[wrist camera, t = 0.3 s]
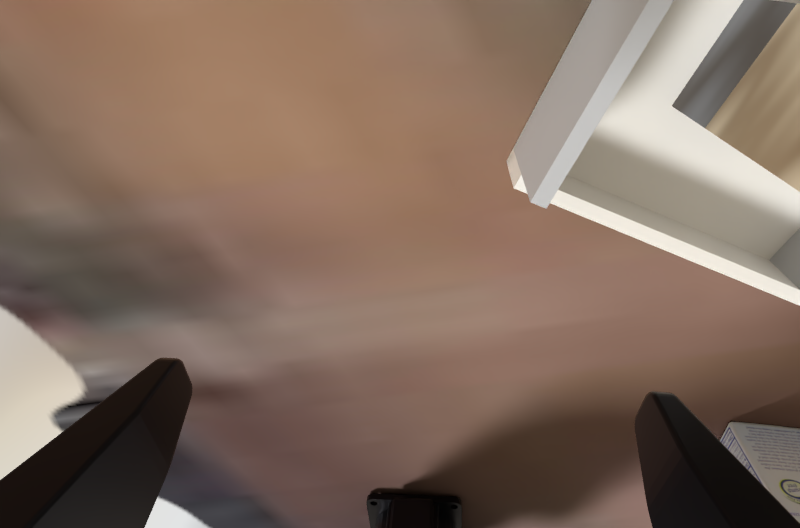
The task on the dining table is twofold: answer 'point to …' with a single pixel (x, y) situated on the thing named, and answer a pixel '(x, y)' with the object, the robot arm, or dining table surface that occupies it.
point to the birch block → (753, 87)
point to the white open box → (656, 146)
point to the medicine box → (769, 458)
